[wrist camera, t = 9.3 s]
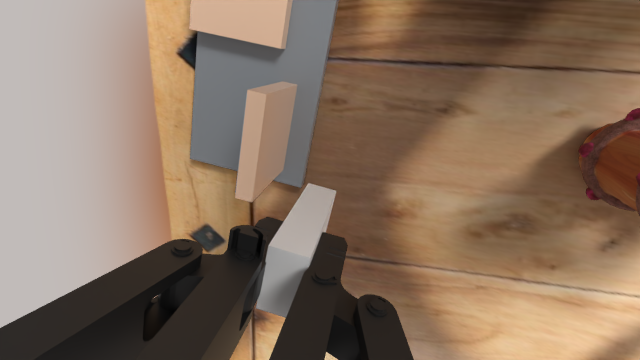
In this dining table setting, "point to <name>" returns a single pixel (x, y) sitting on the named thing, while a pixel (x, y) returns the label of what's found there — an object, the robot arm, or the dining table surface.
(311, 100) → the slate board
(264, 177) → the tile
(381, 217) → the dining table surface
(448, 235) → the dining table surface
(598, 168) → the mug
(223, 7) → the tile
